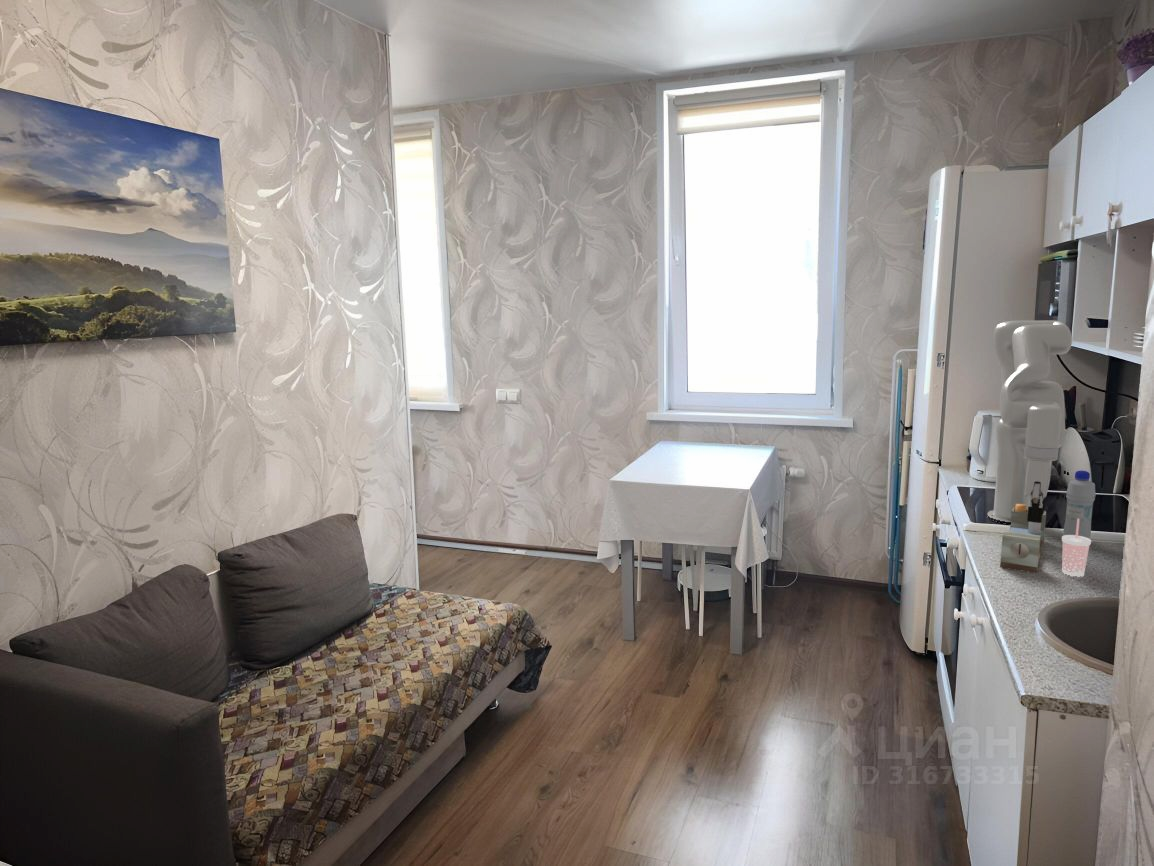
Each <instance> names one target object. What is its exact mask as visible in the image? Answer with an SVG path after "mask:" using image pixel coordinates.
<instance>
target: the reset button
mask: <svg viewBox="0 0 1154 866" xmlns="http://www.w3.org/2000/svg"><path fill="white" fill-rule="evenodd" d="M1026 506H1027V505H1025V504H1016V507H1015V511H1018V512H1026Z"/></svg>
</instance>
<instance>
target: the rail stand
mask: <svg viewBox="0 0 1154 866" xmlns="http://www.w3.org/2000/svg"><path fill="white" fill-rule="evenodd" d="M1027 516H1028V509H1026V512H1018V511H1015V508H1013V509H1012V514H1011V524H1010V527H1009V531H1008V530H1004V531H1003V533H1002V537H1001V538H1002V541H1001V549H1000V550H1001V551H1000V560H999V563H1000V564H999V568H1001V567H1002V568H1003V569H1007V568H1010V569H1009V570H1014V569H1016V571H1020V570H1023V571H1022V572H1027V571H1029V572H1028V573H1033V572H1035V573H1034V574H1038V568H1039V564H1040V559H1041V555H1042V550H1043V545H1044V541H1045V529H1046V518H1047V511H1046V510H1044V513H1043V515H1042V522H1041V530H1040V531H1041V536H1039V535H1032V534H1024V533H1017V532H1010V529H1011V527H1013V528H1021V529H1028V526H1029V522H1028V521H1027ZM1040 537H1041V539H1040ZM1002 568H1001V569H1002Z"/></svg>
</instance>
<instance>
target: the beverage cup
mask: <svg viewBox="0 0 1154 866" xmlns="http://www.w3.org/2000/svg"><path fill="white" fill-rule="evenodd" d="M1079 520H1080V519H1077V527H1076V535H1064V534H1063V535H1062V536H1061V542H1062V555H1061V558H1062V561H1061V573H1062V572H1063V573H1064V574H1063V573H1062V574H1063V575H1065V574H1067V575H1066V576H1068V575H1070V576H1069V577H1073V576H1077V577H1076V578H1082V577H1084V576H1085V572H1086V567H1087V561H1088V555H1089V549H1090V546H1091V544H1092V540H1091V538H1087V537H1083V536H1078V530H1079ZM1080 576H1081V577H1080Z"/></svg>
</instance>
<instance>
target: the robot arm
mask: <svg viewBox="0 0 1154 866" xmlns="http://www.w3.org/2000/svg"><path fill="white" fill-rule="evenodd" d="M1072 343H1073V337H1072V332H1071V330H1070V328H1069V327H1068V325H1067V324H1065V323H1063V322H1062V321H1060V320H1059V321H1058V320H1056V319H1055V320H1051V319H1050V320H1031V319H1030V320H1024V319H1023V320H1021V319H1020V320H1010V321H1009V320H1007V321H1003V322H1001V323H999V324H997V325H996V326H995V328H994V331H993V345H994V346H993V347H994V351H995V355H996V356H997V360H998V362H999V365H1000V369H1001V389H1000V393H999V410H1000V418H1001V419H999V421H998V422H997V424H996V428H995V430H996V431H995V432H996V440H997V462H996V476H995V478H996V479H995V486H994V487H995V490H994V502H993V509H992V510H989V511H988V512H987V515H988V516H989V517H990V518H993V519H996V520H1000V521H1005V522H1011V514H1012V509H1013V508H1015V507H1016V504H1025V505H1027V506H1026V509H1028V516H1027V521H1028V522H1035V523H1041V522H1042V515H1043V513H1044V511H1045V498H1046V497H1047V494H1048V490H1049V486H1050V482H1051V473H1052V465H1053V462H1055V461H1058V458H1059V449H1060V448H1061V447H1062V446H1063V445H1064V443H1065V439H1066V416H1065V414H1066V413H1065V412H1066V411H1065V409H1066V408H1065V392H1064V390H1063V387H1062V385H1061V384H1059V383H1058V382H1057V381H1051V380H1045V379H1046V378H1047V377H1048V376H1049V375H1050V373H1051V363H1050V356H1049V355H1065V354H1067V353H1068V352H1069V351H1070V350H1071V348H1072ZM1039 503H1040V504H1039ZM1042 504H1043V508H1042ZM988 516H987V517H988Z"/></svg>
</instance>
